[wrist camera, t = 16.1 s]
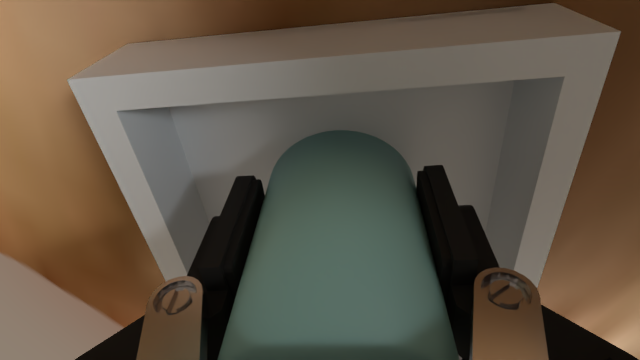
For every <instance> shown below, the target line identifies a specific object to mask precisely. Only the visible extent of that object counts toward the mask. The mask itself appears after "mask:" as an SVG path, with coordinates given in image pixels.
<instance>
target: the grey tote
mask: <svg viewBox="0 0 640 360" xmlns="http://www.w3.org/2000/svg"><path fill="white" fill-rule="evenodd" d="M620 33H621V31H619V30H617V29H615V28H612V27H610V26H608V25H605V24H603V23H601V22H598V21H596V20H593V19H591V18H589V17H586V16H584V15H582V14H579V13H577V12H575V11H572V10H570V9H568V8H565V7H563V6H561V5H558V4H556V3H547V4H536V5H526V6H516V7H505V8H495V9H484V10H474V11H463V12H453V13H443V14H432V15H422V16H411V17H401V18H391V19H380V20H370V21H359V22H349V23H338V24H328V25H318V26H307V27H297V28H286V29H276V30H266V31H255V32H245V33H234V34H224V35H213V36H203V37H193V38H182V39H172V40H161V41H151V42H141V43H130V44H126V45H124V46H123V47H121V48H119V49H118V50H116V51H114V52H112V53H111V54H109V55H107V56H106V57H104V58H102V59H101V60H99V61H97V62H96V63H94V64H92V65H91V66H89V67H87V68H86V69H84V70H82V71H80V72H79V73H77V74H75V75H74V76H72V77H70V78H69V79H67V81H68V83H69V85H70V87H71V89H72V91H73V93H74V95H75V97H76V99H77V101H78V103H79V106H80V108H81V110H82V112H83V114H84V116H85V118H86V120H87V122H88V124H89V126H90V128H91V130H92V132H93V134H94V136H95V138H96V140H97V142H98V144H99V146H100V148H101V150H102V152H103V154H104V156H105V159H106V161H107V163H108V165H109V167H110V169H111V171H112V173H113V175H114V177H115V179H116V181H117V183H118V185H119V187H120V189H121V191H122V193H123V195H124V197H125V199H126V201H127V203H128V205H129V207H130V209H131V212H132V214H133V216H134V218H135V220H136V222H137V224H138V226H139V228H140V230H141V232H142V234H143V236H144V238H145V240H146V242H147V244H148V246H149V248H150V250H151V252H152V254H153V256H154V258H155V260H156V262H157V265H158V267H159V269H160V271H161V273H162V275H163V277H164V279H165V281H168V280H170V279H173V278H176V277H181V276H187V274H188V271H189V269H190V267H191V265H192V262H193V260H194V258H195V255H196V253H197V251H198V249H199V246H200V244H201V242H202V240H203V237H204V235H205V233H206V231H207V228H208V226H209V224H210V221H211V220H212V218H213V217H215V216H220V214H221V212H222V209H223V207H224V205H225V202H226V200H227V197H228V195H229V193H230V190H231V188H232V185H233V183H234V181H235V178H236V177H237V176H250V175H254V176H255V178H256V179H260V180H261V181H262V185H263V189H264V194H266V190H267V187H268V183H269V180H270V176H271V173H272V171H273V168H274V166H275V164H276V163H277V161H278V159H279V158H280V157H281V156H282V154H283V153H284V152H285V151H286V150H287V149H288V148H290V147H291V146H292V145H294V144H295V143H297V142H298V141H300V140H302V139H304V138H306V137H308V136H311V135H314V134H317V133H321V132H325V131H333V130H349V131H357V132H361V133H366V134H369V135H372V136H374V137H377V138H379V139H381V140H383V141H385V142H386V143H388V144H389V145H391V146H392V147H393V148H395V149H396V150H397V151H398V152H399V153H400V154H401V155H402V157H403V158H404V159H405V160H406V162H407V164H408V165H409V167H410V169H411V172H412V174H413V178H414V181H415V185H416V183H417V171H423V168H424V166H431V165H443V167H444V169H445V172H446V175H447V177H448V180H449V182H450V185H451V188H452V190H453V193H454V196H455V198H456V201H457V203H458V205H472V206H473V207H474V209H475V211H476V213H477V216H478V218H479V220H480V223H481V225H482V227H483V230H484V232H485V234H486V237H487V239H488V241H489V244H490V246H491V248H492V250H493V253H494V255H495V257H496V260H497V262H498V264H499V267H500V268H507V269H510V270H514V271H516V272H518V273H520V274H522V275H524V276H525V277H527V278H528V279H529V280H531V281H532V283H533V284H534V285H535V286H536V288H537V287H538V284H539V281H540V278H541V275H542V272H543V269H544V266H545V263H546V260H547V257H548V254H549V251H550V248H551V244H552V241H553V238H554V235H555V232H556V229H557V226H558V223H559V220H560V217H561V214H562V211H563V208H564V205H565V202H566V199H567V196H568V192H569V189H570V186H571V183H572V180H573V177H574V174H575V171H576V168H577V165H578V162H579V159H580V156H581V153H582V150H583V147H584V143H585V140H586V137H587V134H588V131H589V128H590V125H591V122H592V119H593V116H594V113H595V110H596V107H597V104H598V101H599V98H600V94H601V91H602V88H603V85H604V82H605V79H606V76H607V73H608V70H609V67H610V64H611V61H612V58H613V55H614V52H615V49H616V46H617V42H618V39H619V36H620ZM458 356H459V355H458ZM459 360H460V356H459Z"/></svg>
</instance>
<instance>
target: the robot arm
mask: <svg viewBox="0 0 640 360" xmlns="http://www.w3.org/2000/svg"><path fill="white" fill-rule="evenodd" d="M416 190H417V194H418V198H419V202H420V206H421V210H422V214H423V218H424V222H425V226H426V230H427V234H428V238H429V242H430V246H431V250H432V254H433V258H434V262H435V266H436V270H437V274H438V278H439V282H440V286H441V289H442V293H443V297H444V301H445V305H446V309H447V313H448V317H449V321H450V324H451V328H452V332H453V336H454V340H455V344H456V348H457V352H458V355H459V356H460V360H638V359H637V358H635V357H634V356H632V355H631V354H629V353H627V352H625V351H623V350H622V349H620V348H618V347H616V346H614V345H613V344H611V343H609V342H607V341H605V340H604V339H602V338H600V337H598V336H596V335H595V334H593V333H591V332H589V331H588V330H586V329H584V328H582V327H580V326H579V325H577V324H575V323H573V322H571V321H570V320H568V319H566V318H564V317H562V316H561V315H559V314H557V313H555V312H553V311H552V310H550V309H548V308H546V307H545V306H543V305H541V302H540V296H539V293H538V290H537V288H536V286H535V285H534V284H533V283H532V281H531V280H529V279H528V278H527V277H525V276H524V275H522V274H520V273H518V272H516V271H514V270H510V269H507V268H500V267H499V264H498V262H497V260H496V257H495V255H494V253H493V250H492V248H491V246H490V244H489V241H488V239H487V237H486V234H485V232H484V230H483V227H482V225H481V223H480V220H479V218H478V216H477V213H476V211H475V209H474V207H473V206H472V205H458V203H457V201H456V198H455V196H454V193H453V190H452V188H451V185H450V182H449V180H448V177H447V175H446V172H445V169H444V167H443V165H431V166H424V168H423V171H417V183H416ZM264 197H265V194H264V189H263V185H262V181H261V180H260V179H256V178H255V176H254V175H250V176H237V177H236V178H235V181H234V183H233V185H232V188H231V190H230V193H229V195H228V197H227V200H226V202H225V205H224V207H223V209H222V212H221V214H220V216H215V217H213V218H212V220H211V221H210V224H209V226H208V228H207V231H206V233H205V235H204V237H203V240H202V242H201V244H200V246H199V249H198V251H197V253H196V255H195V258H194V260H193V262H192V265H191V267H190V269H189V271H188V274H187V276H181V277H176V278H173V279H170V280H168V281H166V282H164V283H163V284H161V285H160V286H159V287H158V288H157V289H155V290H154V292H153V293H152V294H151V296H150V297H149V300H148V303H147V307H146V312H145V315H144V316H142V317H141V318H139V319H138V320H136V321H135V322H133V323H131V324H130V325H128V326H127V327H125V328H124V329H122V330H120V331H119V332H117V333H116V334H114V335H113V336H111V337H110V338H108V339H106V340H105V341H103V342H102V343H100V344H98V345H97V346H95V347H94V348H92V349H91V350H89V351H88V352H86V353H84V354H83V355H81V356H80V357H78V358H77V359H75V360H218V356H219V353H220V349H221V346H222V342H223V339H224V335H225V332H226V328H227V325H228V321H229V318H230V315H231V311H232V308H233V304H234V301H235V297H236V294H237V290H238V287H239V283H240V280H241V277H242V273H243V270H244V266H245V263H246V259H247V256H248V252H249V249H250V245H251V242H252V239H253V235H254V232H255V228H256V225H257V221H258V218H259V214H260V211H261V207H262V204H263V200H264Z"/></svg>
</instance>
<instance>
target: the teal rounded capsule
mask: <svg viewBox="0 0 640 360" xmlns="http://www.w3.org/2000/svg"><path fill="white" fill-rule="evenodd" d="M218 360H459V356H458V352H457V348H456V344H455V340H454V336H453V332H452V328H451V324H450V321H449V317H448V313H447V309H446V305H445V301H444V297H443V293H442V289H441V286H440V282H439V278H438V274H437V270H436V266H435V262H434V258H433V254H432V250H431V246H430V242H429V238H428V234H427V230H426V226H425V222H424V218H423V214H422V210H421V206H420V202H419V198H418V194H417V190H416V185H415V181H414V178H413V174H412V172H411V169H410V167H409V165H408V164H407V162H406V160H405V159H404V158H403V157H402V155H401V154H400V153H399V152H398V151H397V150H396V149H395V148H393V147H392V146H391V145H389V144H388V143H386V142H385V141H383V140H381V139H379V138H377V137H374V136H372V135H369V134H366V133H361V132H357V131H349V130H333V131H325V132H321V133H317V134H314V135H311V136H308V137H306V138H304V139H302V140H300V141H298V142H297V143H295V144H294V145H292V146H291V147H290V148H288V149H287V150H286V151H285V152H284V153H283V154H282V156H281V157H280V158H279V159H278V161H277V163H276V164H275V166H274V168H273V171H272V173H271V176H270V180H269V183H268V187H267V190H266V194H265V197H264V200H263V204H262V207H261V211H260V214H259V218H258V221H257V225H256V228H255V232H254V235H253V239H252V242H251V245H250V249H249V252H248V256H247V259H246V263H245V266H244V270H243V273H242V277H241V280H240V283H239V287H238V290H237V294H236V297H235V301H234V304H233V308H232V311H231V315H230V318H229V321H228V325H227V328H226V332H225V335H224V339H223V342H222V346H221V349H220V353H219V356H218Z"/></svg>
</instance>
